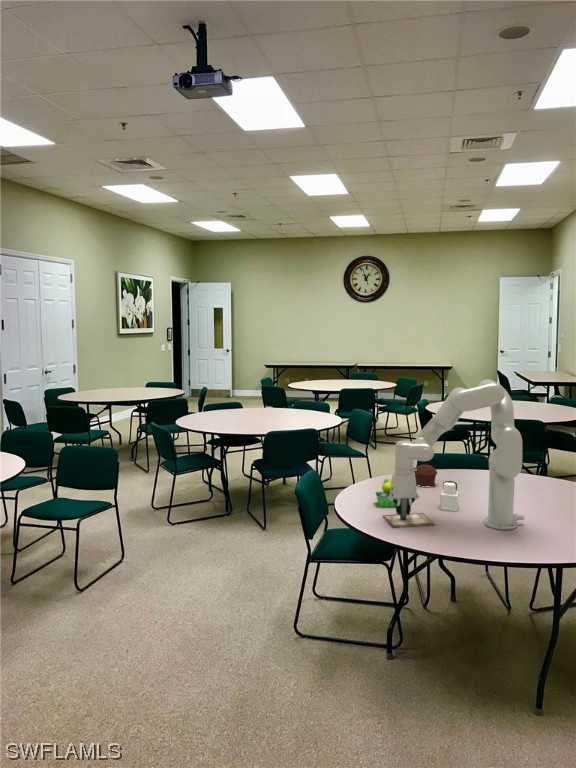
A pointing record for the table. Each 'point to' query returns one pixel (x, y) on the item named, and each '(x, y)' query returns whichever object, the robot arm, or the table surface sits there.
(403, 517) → the marker
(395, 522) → the clipboard
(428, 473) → the muffin
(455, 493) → the white handled container
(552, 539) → the table surface
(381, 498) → the fruit basket
